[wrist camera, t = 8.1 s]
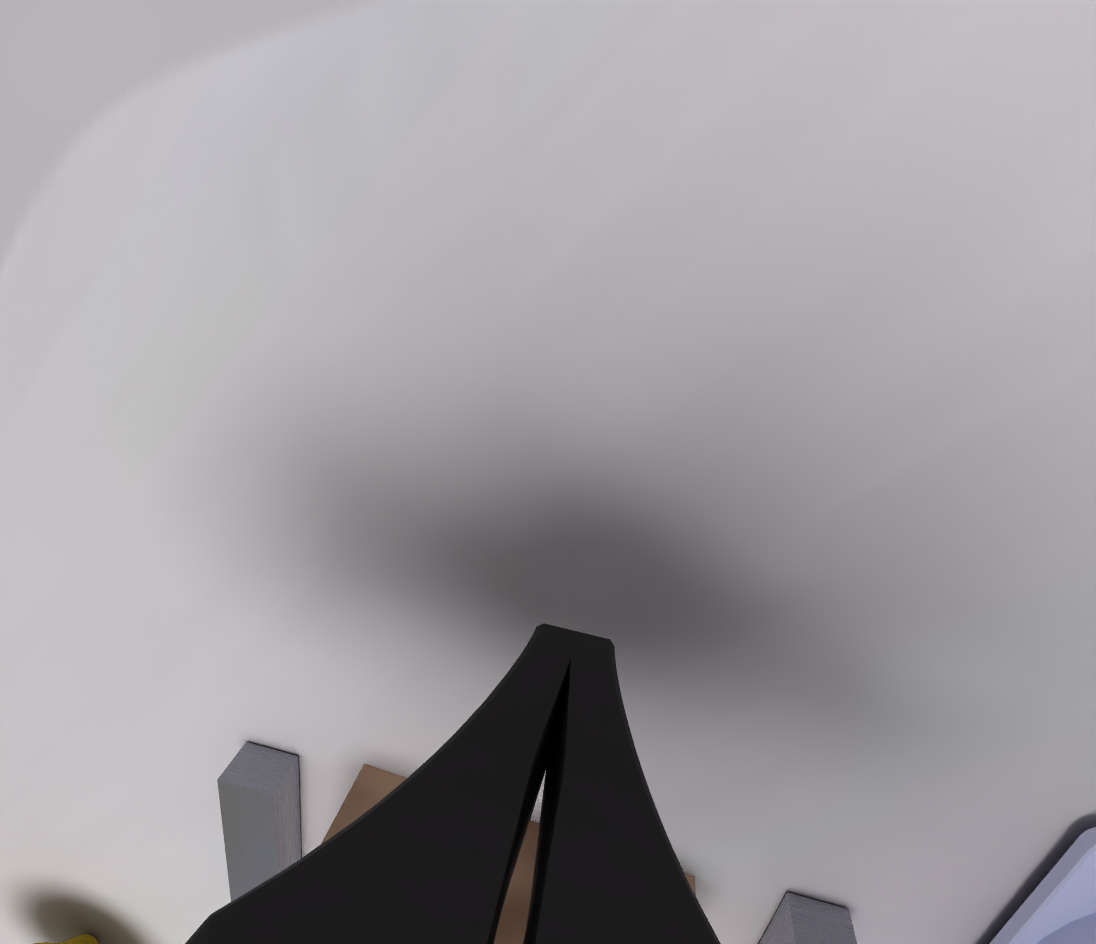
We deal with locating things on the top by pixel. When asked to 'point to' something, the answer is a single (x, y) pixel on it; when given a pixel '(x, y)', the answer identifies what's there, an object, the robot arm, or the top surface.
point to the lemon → (78, 940)
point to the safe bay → (275, 843)
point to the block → (516, 905)
